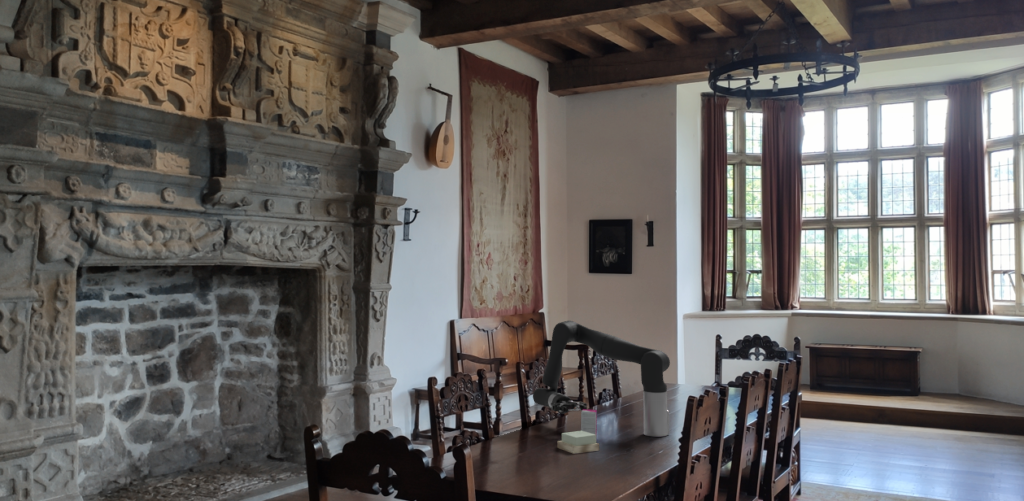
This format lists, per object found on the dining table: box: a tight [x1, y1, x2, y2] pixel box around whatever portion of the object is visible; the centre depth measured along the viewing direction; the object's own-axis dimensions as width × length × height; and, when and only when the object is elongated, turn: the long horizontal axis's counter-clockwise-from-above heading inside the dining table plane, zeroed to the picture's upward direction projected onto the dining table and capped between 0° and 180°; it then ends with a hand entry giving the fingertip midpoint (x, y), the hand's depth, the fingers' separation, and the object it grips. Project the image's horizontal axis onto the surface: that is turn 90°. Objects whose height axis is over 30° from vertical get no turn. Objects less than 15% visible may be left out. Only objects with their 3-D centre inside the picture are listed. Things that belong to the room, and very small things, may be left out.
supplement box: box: [580, 408, 598, 440], centre depth 297 cm, size 6×6×12 cm
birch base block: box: [556, 440, 600, 455], centre depth 281 cm, size 11×11×3 cm
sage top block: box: [561, 430, 597, 446], centre depth 281 cm, size 9×9×3 cm
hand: (575, 409), depth 307 cm, fingers open, 8 cm apart
